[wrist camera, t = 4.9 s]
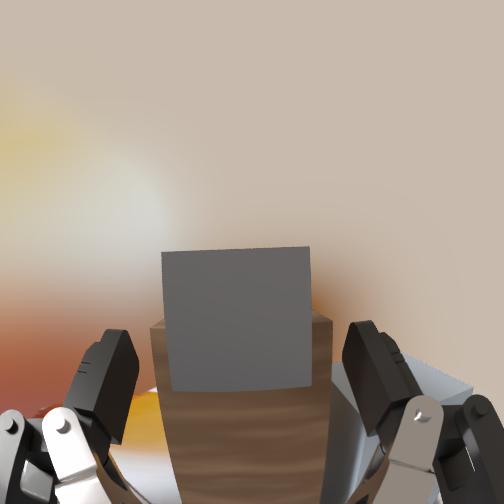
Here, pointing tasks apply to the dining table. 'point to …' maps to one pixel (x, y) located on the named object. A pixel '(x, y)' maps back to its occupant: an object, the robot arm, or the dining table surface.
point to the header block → (354, 435)
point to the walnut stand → (248, 433)
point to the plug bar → (238, 319)
